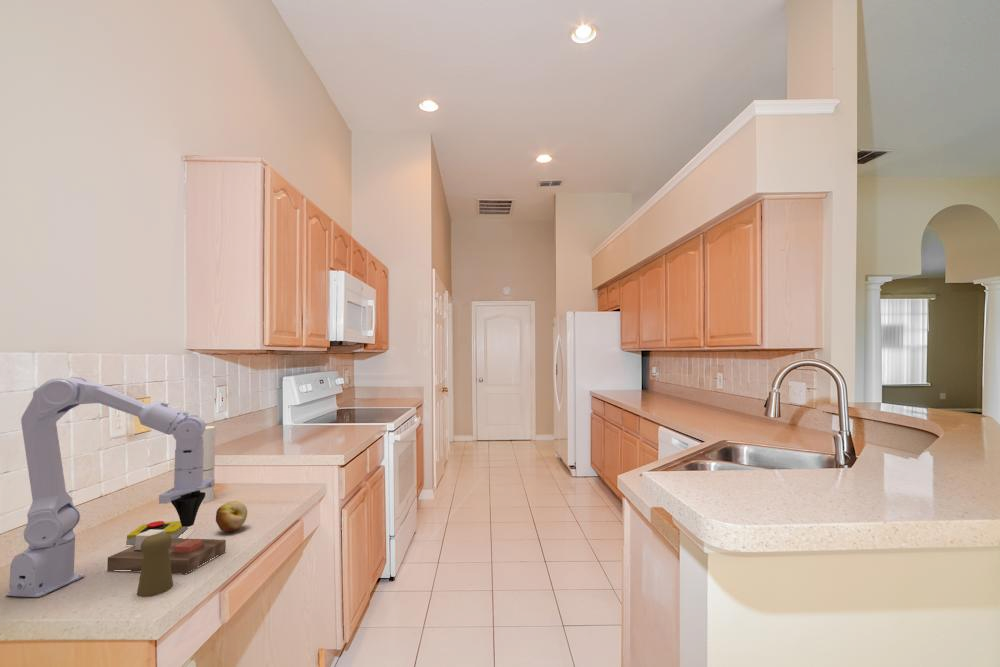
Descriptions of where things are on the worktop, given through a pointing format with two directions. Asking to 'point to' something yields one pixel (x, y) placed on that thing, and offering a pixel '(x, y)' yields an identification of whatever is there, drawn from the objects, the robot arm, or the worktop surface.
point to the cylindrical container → (208, 461)
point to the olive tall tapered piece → (155, 566)
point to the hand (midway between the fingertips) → (187, 525)
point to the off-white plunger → (144, 535)
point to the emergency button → (170, 528)
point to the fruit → (231, 516)
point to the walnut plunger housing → (178, 561)
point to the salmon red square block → (188, 546)
